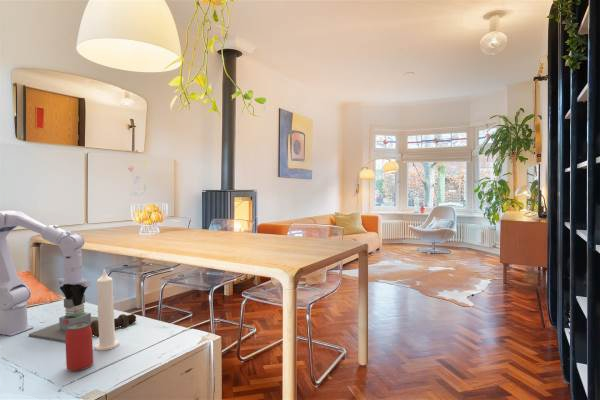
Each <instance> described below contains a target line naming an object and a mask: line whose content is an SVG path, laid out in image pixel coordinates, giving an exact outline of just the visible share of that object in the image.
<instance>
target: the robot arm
mask: <svg viewBox="0 0 600 400" xmlns="http://www.w3.org/2000/svg"><path fill="white" fill-rule="evenodd" d="M17 227H21V228H24V229H27V230H30V231H32V232H35V233H37V234H40V235H41V239H42V240H44V241H47V242H49V243H51V244H53V245H56V246H58V247H59V249H60V250H61V252H62V258H63V277H60V278H56V285H61V286H60V287H59V289H60V290H61V292H62V293H63V295H64V299H65V298H69V297H72V296H73V297H74V304H75V306H77V305H80V304H81V303H82V299H83V295H85V293H86V290H87V289H88V287H89V286H92V280H91V279H88V278H84V277H83V276H84V275H83V252H82V251H83V250H82V248H83V247H84V245H85V238H84V237H83V236H82V235H81V234H80V233H72V232H71V231H70V230H65V229H63V228H61V227H60V225H58V224H50V225H45V224H44V223H43V222H40V221H38V220H36V219H34V218H32V217H30V216H28V215H27V214H26V213H25V212H23V211H19V210H17V209H10V210H0V335H5V336H11V337H13V336H14V335H17V334H20V333H22V332H26V331H28V330H31V329H33V328H34V327H35V326H33V325H28V306H27V304H28V303H29V302H28V300H30V299H31V295H32V290H31V289H30V288H29V287H28V285H27V284H26V281H25V280H23V279H21V278H20V277H19V275H18V272H17V268H16V265H15V263H14V259H13V256H12V254H11V250H10V247H9V243H8V240H7V236H8V235H9V234H10V233H11V232H12V231H13V230H14V229H15V228H17Z"/></svg>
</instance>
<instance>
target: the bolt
mask: <svg viewBox="0 0 600 400" xmlns="http://www.w3.org/2000/svg"><path fill="white" fill-rule="evenodd" d="M136 321H137V316H136V315H135V314H134V313H131V314H125V313H123V314H119V316H118V317H115V318H114V327H115V329H116V328H119V327H120V326H121V327H120V328H122V327H124V328H126V327H125V326H128V325H129V324H133V322H134V323H135V322H136ZM90 327H91V329H92V336H93V335H94V336H93V337H95V336H97V337H99V336H98V335H99V323H98V321H97V320H94V321H92V323H91V325H90Z"/></svg>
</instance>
